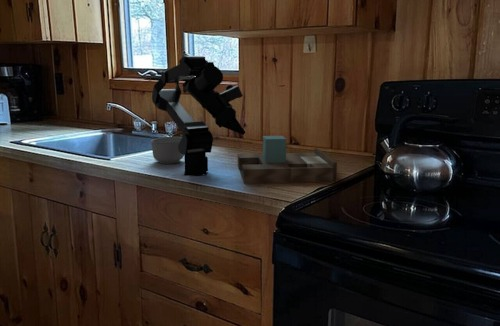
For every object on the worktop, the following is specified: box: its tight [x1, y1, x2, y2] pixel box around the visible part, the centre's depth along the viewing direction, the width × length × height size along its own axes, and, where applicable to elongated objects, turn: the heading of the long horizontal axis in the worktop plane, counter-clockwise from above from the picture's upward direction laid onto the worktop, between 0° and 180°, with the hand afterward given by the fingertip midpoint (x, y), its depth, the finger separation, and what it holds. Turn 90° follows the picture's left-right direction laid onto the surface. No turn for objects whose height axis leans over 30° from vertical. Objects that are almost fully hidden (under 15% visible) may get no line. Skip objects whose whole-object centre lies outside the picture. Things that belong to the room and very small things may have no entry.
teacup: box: [150, 136, 184, 165], centre depth 156 cm, size 14×11×8 cm
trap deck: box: [237, 147, 338, 185], centre depth 140 cm, size 26×22×6 cm
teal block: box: [262, 135, 287, 163], centre depth 138 cm, size 6×6×7 cm
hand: (244, 133), depth 136 cm, fingers closed
